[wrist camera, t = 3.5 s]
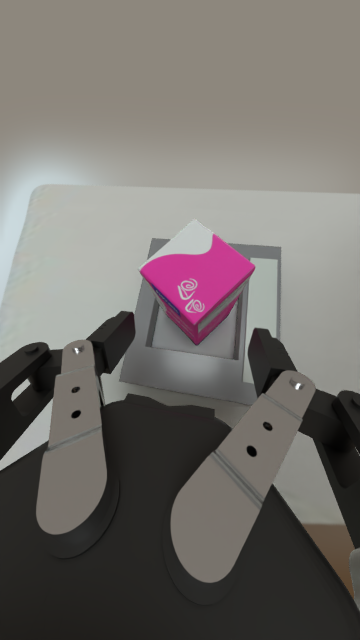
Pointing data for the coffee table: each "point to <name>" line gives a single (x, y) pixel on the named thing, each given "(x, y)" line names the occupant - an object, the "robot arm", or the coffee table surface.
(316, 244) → the coffee table surface
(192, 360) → the divided tray
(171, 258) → the supplement box
